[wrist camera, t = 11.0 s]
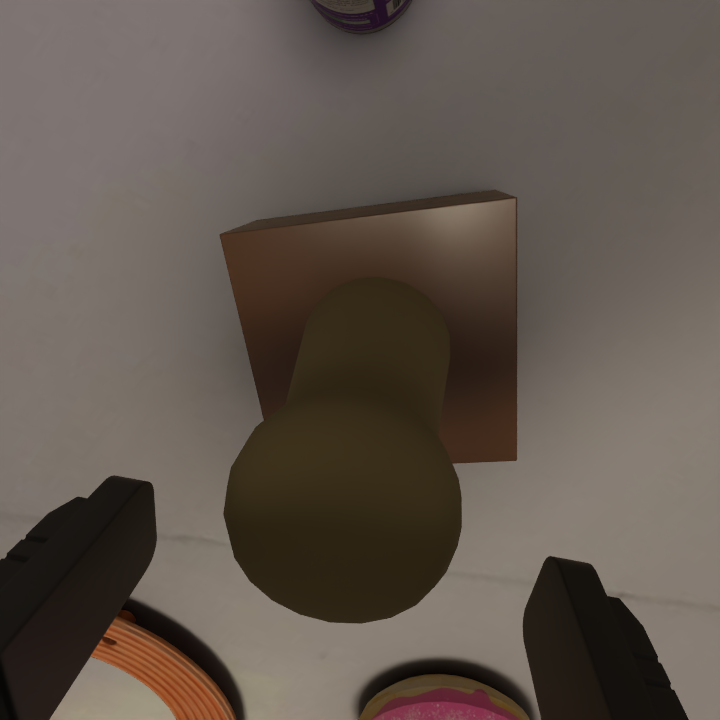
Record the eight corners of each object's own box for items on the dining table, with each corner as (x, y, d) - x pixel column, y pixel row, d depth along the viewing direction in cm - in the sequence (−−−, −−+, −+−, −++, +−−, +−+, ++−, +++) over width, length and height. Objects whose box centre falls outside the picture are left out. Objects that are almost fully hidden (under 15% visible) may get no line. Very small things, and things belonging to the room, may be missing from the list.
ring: (281, 647, 34) (272, 681, 31) (211, 806, 44) (200, 840, 42) (-57, 531, 33) (-92, 558, 30) (-48, 721, 43) (-73, 752, 41)
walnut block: (255, 220, 22) (218, 234, 18) (496, 189, 20) (517, 196, 16) (297, 422, 26) (275, 471, 22) (499, 410, 24) (517, 461, 20)
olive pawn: (332, 251, 17) (221, 374, 7) (478, 313, 18) (560, 512, 8) (283, 382, 20) (149, 608, 10) (412, 434, 20) (409, 704, 10)
